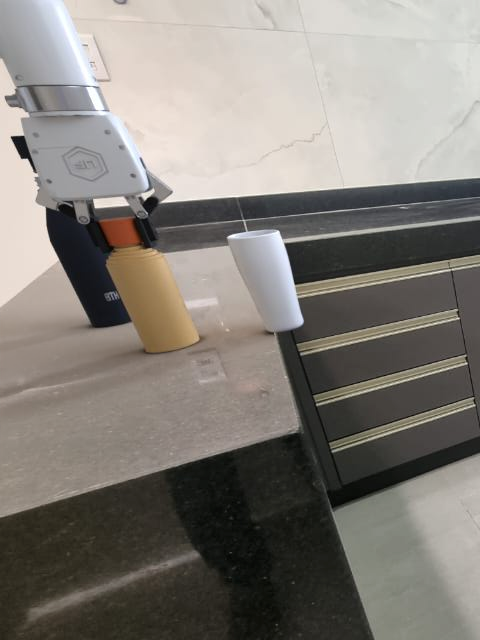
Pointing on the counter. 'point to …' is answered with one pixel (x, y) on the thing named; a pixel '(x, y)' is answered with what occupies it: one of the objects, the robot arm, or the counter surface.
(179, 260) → the counter surface
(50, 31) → the robot arm
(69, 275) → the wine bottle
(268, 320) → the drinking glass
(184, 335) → the sauce bottle
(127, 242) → the cap
